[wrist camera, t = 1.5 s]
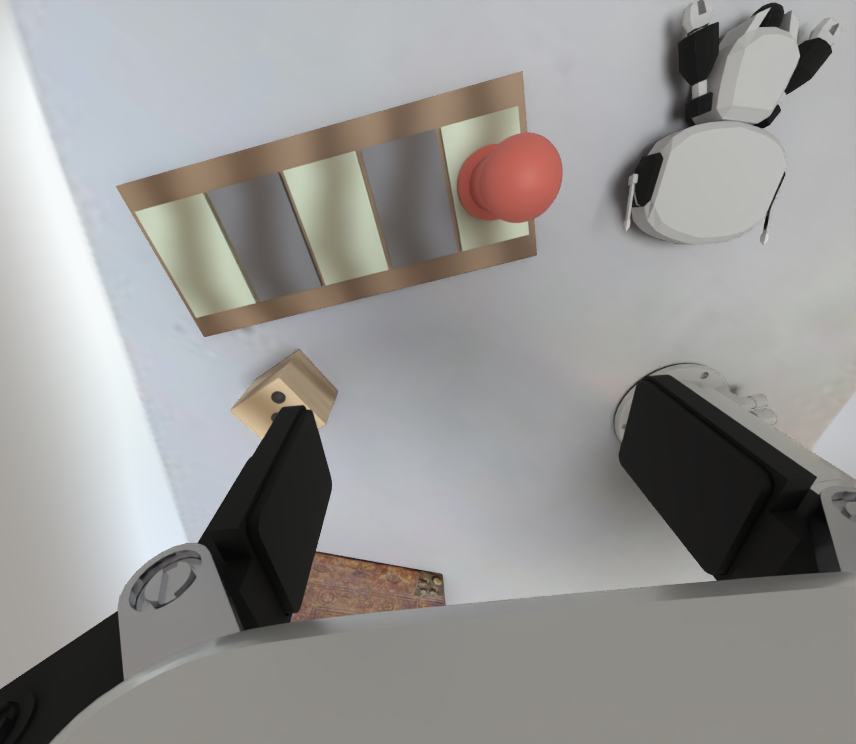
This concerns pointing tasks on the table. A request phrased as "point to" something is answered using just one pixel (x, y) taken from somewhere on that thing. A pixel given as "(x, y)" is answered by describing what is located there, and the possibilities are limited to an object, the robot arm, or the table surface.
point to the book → (365, 588)
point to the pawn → (511, 179)
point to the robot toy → (726, 128)
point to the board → (333, 211)
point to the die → (285, 394)
